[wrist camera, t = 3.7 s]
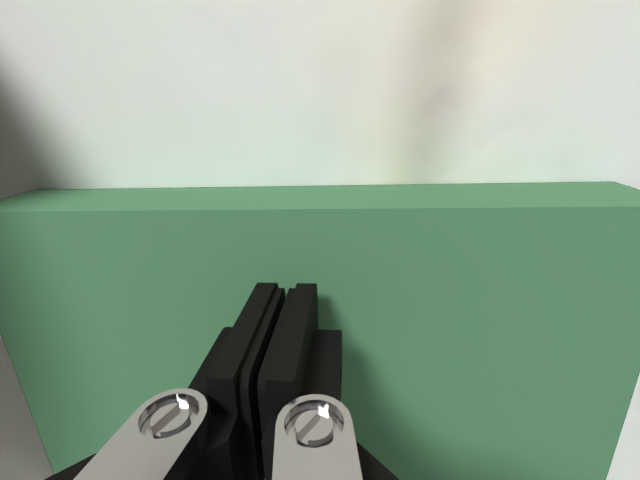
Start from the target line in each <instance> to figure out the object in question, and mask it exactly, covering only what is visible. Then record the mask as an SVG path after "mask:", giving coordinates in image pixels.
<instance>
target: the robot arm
mask: <svg viewBox="0 0 640 480" xmlns="http://www.w3.org/2000/svg"><path fill="white" fill-rule="evenodd" d="M341 389H342V330H325V329H318V298H317V284H316V283H297V284H296V287H295V288H289V290H288V293H287V296H285V289H284V288H279V287H278V284H277V283H260V282H258V283H257V284H256V286H255V287H254V289H253V291H252V293H251V295H250V296H249V298H248V300H247V302H246V304H245V306H244V307H243V309H242V311H241V313H240V315H239V317H238V318H237V320H236V322H235V324H234V326H233V327H224V328H223V329H222V331H221V332H220V334H219V336H218V337H217V339H216V341H215V343H214V344H213V346H212V348H211V349H210V351H209V353H208V354H207V356H206V358H205V360H204V361H203V363H202V365H201V366H200V368H199V370H198V371H197V373H196V375H195V377H194V378H193V380H192V382H191V383H190V385H189V387H188V388H178V389H172V390H168V391H165V392H162V393H160V394H157V395H155V396H154V397H152V398H150V399H148V400H147V401H146V402H144V403H143V404H142V405H141V406H140V407H139V408H138V409H137V410H136V411H135V412H134V413H133V414H132V415H131V416H130V418H129V419H128V420H127V421H126V422H125V423H124V424H123V425H122V426H121V427H120V429H119V430H118V431H117V432H116V433H115V434H114V435H113V436H112V437H111V438H110V440H109V441H108V442H107V443H106V444H105V445H104V446H103V447H102V448H101V449H100V451H99V452H97V453H95V454H93V455H91V456H89V457H87V458H85V459H83V460H82V461H80V462H78V463H76V464H74V465H72V466H70V467H68V468H66V469H64V470H62V471H60V472H58V473H56V474H54V475H52V476H50V477H48V478H46V479H45V480H400V479H398V478H397V477H396V476H395V475H394V474H393V473H392V472H391V471H389V470H388V469H387V468H386V467H385V466H384V465H383V464H382V463H381V462H379V461H378V460H377V459H376V458H375V457H374V456H373V455H372V454H370V453H369V452H368V451H367V450H366V449H365V448H364V447H363V446H362V445H360V444H359V443H358V442H357V441H356V439H355V433H354V427H353V422H352V418H351V415H350V413H349V410H348V409H347V408H346V407H345V406H344V404H343V403H341Z"/></svg>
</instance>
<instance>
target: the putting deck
mask: <svg viewBox="0 0 640 480" xmlns="http://www.w3.org/2000/svg"><path fill="white" fill-rule="evenodd" d="M258 282H260V283H277V284H278V287H279V288H284V289H285V296H287V293H288V290H289V288H295V287H296V284H297V283H316V284H317V298H318V329H325V330H342V389H341V403H343V404H344V406H345V407H346V408H347V409H348V410H349V413H350V415H351V418H352V422H353V427H354V433H355V439H356V441H357V442H358V443H359V444H360V445H362V446H363V447H364V448H365V449H366V450H367V451H368V452H369V453H370V454H372V455H373V456H374V457H375V458H376V459H377V460H378V461H379V462H381V463H382V464H383V465H384V466H385V467H386V468H387V469H388V470H389V471H391V472H392V473H393V474H394V475H395V476H396V477H397V478H398V479H400V480H606V478H607V474H608V471H609V468H610V465H611V462H612V459H613V455H614V452H615V449H616V446H617V443H618V439H619V436H620V433H621V430H622V427H623V424H624V420H625V417H626V414H627V411H628V408H629V405H630V401H631V398H632V395H633V392H634V389H635V386H636V382H637V379H638V376H639V373H640V190H639V189H636V188H632V187H629V186H626V185H623V184H620V183H616V182H552V183H482V184H411V185H341V186H270V187H199V188H129V189H58V190H33V191H29V192H26V193H22V194H18V195H15V196H11V197H7V198H4V199H0V333H1V336H2V338H3V341H4V344H5V346H6V349H7V352H8V354H9V357H10V359H11V362H12V365H13V367H14V370H15V373H16V375H17V378H18V380H19V383H20V386H21V388H22V391H23V394H24V396H25V399H26V402H27V404H28V407H29V409H30V412H31V415H32V417H33V420H34V423H35V425H36V428H37V430H38V433H39V436H40V438H41V441H42V444H43V446H44V449H45V451H46V454H47V457H48V459H49V462H50V465H51V467H52V470H53V473H54V474H56V473H58V472H60V471H62V470H64V469H66V468H68V467H70V466H72V465H74V464H76V463H78V462H80V461H82V460H83V459H85V458H87V457H89V456H91V455H93V454H95V453H97V452H99V451H100V449H101V448H102V447H103V446H104V445H105V444H106V443H107V442H108V441H109V440H110V438H111V437H112V436H113V435H114V434H115V433H116V432H117V431H118V430H119V429H120V427H121V426H122V425H123V424H124V423H125V422H126V421H127V420H128V419H129V418H130V416H131V415H132V414H133V413H134V412H135V411H136V410H137V409H138V408H139V407H140V406H141V405H142V404H143V403H144V402H146V401H147V400H148V399H150V398H152V397H154V396H155V395H157V394H160V393H162V392H165V391H168V390H172V389H178V388H188V387H189V385H190V383H191V382H192V380H193V378H194V377H195V375H196V373H197V371H198V370H199V368H200V366H201V365H202V363H203V361H204V360H205V358H206V356H207V354H208V353H209V351H210V349H211V348H212V346H213V344H214V343H215V341H216V339H217V337H218V336H219V334H220V332H221V331H222V329H223V328H224V327H233V326H234V324H235V322H236V320H237V318H238V317H239V315H240V313H241V311H242V309H243V307H244V306H245V304H246V302H247V300H248V298H249V296H250V295H251V293H252V291H253V289H254V287H255V286H256V284H257V283H258Z"/></svg>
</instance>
